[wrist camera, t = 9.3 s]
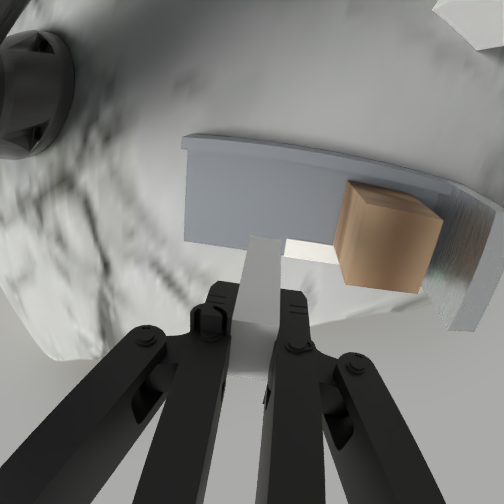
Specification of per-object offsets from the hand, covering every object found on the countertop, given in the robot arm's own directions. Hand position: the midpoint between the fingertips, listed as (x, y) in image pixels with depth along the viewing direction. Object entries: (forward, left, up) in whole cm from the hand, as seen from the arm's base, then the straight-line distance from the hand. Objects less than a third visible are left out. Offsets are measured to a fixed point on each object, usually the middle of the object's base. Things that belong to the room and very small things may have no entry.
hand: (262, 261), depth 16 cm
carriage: (+9, -1, -12) cm, 15 cm away
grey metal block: (+17, 0, -12) cm, 21 cm away
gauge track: (+5, 0, -13) cm, 14 cm away
